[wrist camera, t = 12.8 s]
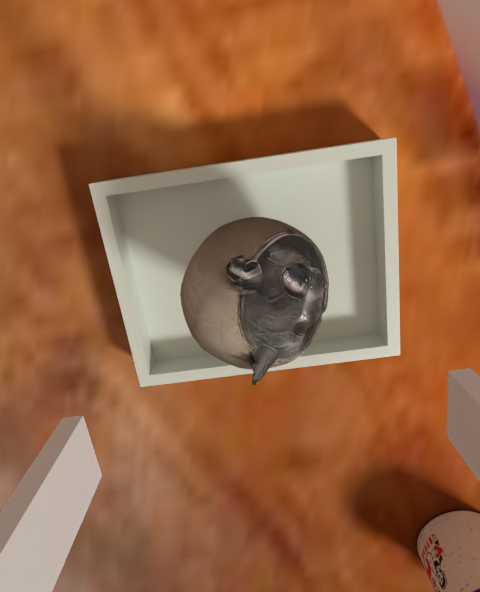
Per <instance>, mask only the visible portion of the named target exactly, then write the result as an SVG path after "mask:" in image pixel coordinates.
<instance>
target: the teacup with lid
mask: <svg viewBox="0 0 480 592" xmlns="http://www.w3.org/2000/svg"><path fill="white" fill-rule="evenodd" d="M417 549H418V553H419V555H420V558H421V560H422V562H423V565H424V567H425V569H426V572H427V574H428V576H429V579H430V581H431V583H432V586H433V588H434V590H435V592H480V514H479V513H476V512H472V511H452V512H448V513H445V514H442V515H440V516H438V517H436V518H434V519H433V520H431V521H430V522H429V523H428V524H427V525H426V526H425V527H424V528H423V529H422V531H421V532H420V534H419V537H418V541H417Z"/></svg>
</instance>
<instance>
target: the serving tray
mask: <svg viewBox="0 0 480 592" xmlns="http://www.w3.org/2000/svg"><path fill="white" fill-rule="evenodd" d="M89 188H90V192H91V196H92V200H93V204H94V207H95V211H96V215H97V219H98V223H99V227H100V231H101V235H102V239H103V243H104V246H105V250H106V254H107V258H108V262H109V266H110V270H111V274H112V278H113V282H114V285H115V289H116V293H117V297H118V301H119V305H120V309H121V313H122V317H123V321H124V324H125V328H126V332H127V336H128V340H129V344H130V348H131V352H132V356H133V360H134V363H135V367H136V371H137V375H138V379H139V383H140V387H144V386H152V385H160V384H169V383H177V382H185V381H193V380H201V379H209V378H218V377H226V376H234V375H242V374H250V373H254V372H253V370H252V369H243V368H238V367H235V366H232V365H230V364H228V363H226V362H224V361H222V360H220V359H218V358H216V357H214V356H213V355H211V354H209V353H208V352H206V351H205V350H203V349H202V348H201V347H200V346H199V344H198V343H197V342H196V340H195V339H194V338H193V336H192V334H191V332H190V330H189V328H188V326H187V323H186V320H185V317H184V314H183V310H182V305H181V297H180V291H181V284H182V281H183V278H184V274H185V272H186V269H187V267H188V264H189V262H190V260H191V259H192V257H193V255H194V254H195V252H196V251H197V249H198V248H199V247H200V245H201V244H202V242H203V241H204V240H205V239H206V238H207V237H208V236H209V235H210V234H211V233H212V232H214V231H215V230H216V229H217V228H219V227H221V226H222V225H225V224H227V223H230V222H232V221H235V220H239V219H243V218H249V217H265V218H270V219H275V220H278V221H281V222H284V223H286V224H288V225H290V226H292V227H294V228H296V229H298V230H299V231H301V232H302V233H304V234H305V235H306V236H308V237H309V238H310V239H311V240H312V241H313V242H314V243H315V244H316V246H317V247H318V248H319V250H320V252H321V253H322V255H323V258H324V260H325V264H326V268H327V273H328V279H329V290H328V304H327V309H326V311H325V312H324V313H323V314H322V321H321V323H320V326H319V328H318V330H317V332H316V334H315V336H314V338H313V340H312V342H311V343H310V345H309V346H308V348H307V349H306V350H305V351H304V352H303V353H302V354H301V355H300V356H299V357H297V358H296V359H295V360H293V361H291V362H290V363H287V364H284V365H281V366H277V367H273V368H269V369H268V371H275V370H283V369H291V368H299V367H307V366H315V365H324V364H332V363H340V362H348V361H356V360H364V359H373V358H381V357H389V356H397V355H400V307H399V252H398V197H397V142H396V138H382V139H375V140H368V141H361V142H355V143H348V144H342V145H335V146H328V147H322V148H315V149H309V150H302V151H295V152H289V153H282V154H275V155H269V156H262V157H256V158H249V159H242V160H236V161H229V162H223V163H216V164H209V165H203V166H196V167H189V168H183V169H176V170H170V171H163V172H156V173H150V174H143V175H137V176H130V177H123V178H117V179H110V180H104V181H99V182H95V183H91V184H89Z"/></svg>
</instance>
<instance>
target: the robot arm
mask: <svg viewBox="0 0 480 592" xmlns="http://www.w3.org/2000/svg"><path fill="white" fill-rule="evenodd" d="M447 437H448V439H449V440H450V441H451V443H452V444H453V446H454V447H455V448H456V450H457V451H458V453H459V454H460V455H461V457H462V458H463V460H464V461H465V462H466V464H467V465H468V467H469V468H470V469H471V471H472V472H473V474H474V475H475V476H476V478H477V479H478V481H479V482H480V377H479V376H478V375H477V374H476V373H475V372H474V371H473V370H472V369H471V368H468V369H460V370H452V371H448V401H447ZM101 477H102V474H101V471H100V468H99V465H98V461H97V458H96V455H95V452H94V449H93V446H92V442H91V439H90V436H89V433H88V430H87V427H86V423H85V420H84V417H83V416H75V417H67V418H62V420H61V421H60V423H59V424H58V426H57V427H56V429H55V430H54V432H53V433H52V435H51V436H50V438H49V439H48V441H47V442H46V444H45V445H44V447H43V448H42V450H41V451H40V453H39V454H38V456H37V457H36V459H35V460H34V462H33V463H32V465H31V466H30V468H29V469H28V471H27V472H26V474H25V475H24V477H23V478H22V480H21V481H20V483H19V484H18V486H17V487H16V489H15V490H14V492H13V493H12V495H11V496H10V498H9V499H8V501H7V502H6V504H5V505H4V507H3V508H2V510H1V511H0V592H52V591H53V588H54V586H55V584H56V581H57V579H58V577H59V574H60V572H61V570H62V567H63V565H64V563H65V560H66V558H67V556H68V553H69V551H70V549H71V546H72V544H73V542H74V539H75V537H76V535H77V532H78V530H79V528H80V525H81V523H82V521H83V518H84V516H85V514H86V511H87V509H88V507H89V504H90V502H91V500H92V497H93V495H94V493H95V491H96V488H97V486H98V484H99V481H100V479H101Z"/></svg>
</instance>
